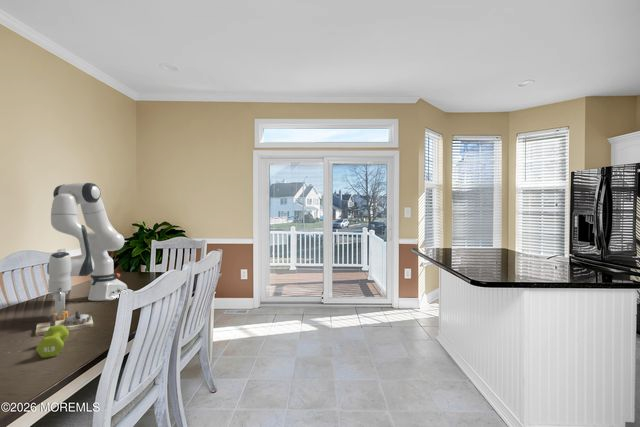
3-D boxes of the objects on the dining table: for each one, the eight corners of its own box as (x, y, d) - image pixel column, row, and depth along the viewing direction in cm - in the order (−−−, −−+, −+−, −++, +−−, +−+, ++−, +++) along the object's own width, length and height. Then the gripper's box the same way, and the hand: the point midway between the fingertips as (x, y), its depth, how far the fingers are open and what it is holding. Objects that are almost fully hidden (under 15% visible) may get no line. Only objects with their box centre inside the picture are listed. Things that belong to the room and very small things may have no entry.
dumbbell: (62, 356, 123) (63, 336, 123) (34, 360, 119) (34, 340, 119) (70, 340, 137) (70, 322, 137) (45, 344, 133) (45, 325, 133)
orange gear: (51, 318, 163) (51, 312, 163) (68, 316, 167) (68, 310, 167) (50, 322, 157) (50, 316, 157) (68, 319, 161) (68, 313, 161)
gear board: (91, 318, 163) (91, 306, 163) (93, 326, 153) (93, 313, 153) (37, 327, 151) (37, 313, 151) (35, 336, 141) (35, 321, 141)
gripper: (68, 290, 155) (68, 320, 156) (67, 282, 172) (67, 309, 172) (51, 292, 152) (51, 322, 152) (52, 283, 168) (51, 311, 168)
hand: (59, 315), depth 162 cm, fingers closed on orange gear, 7 cm apart
